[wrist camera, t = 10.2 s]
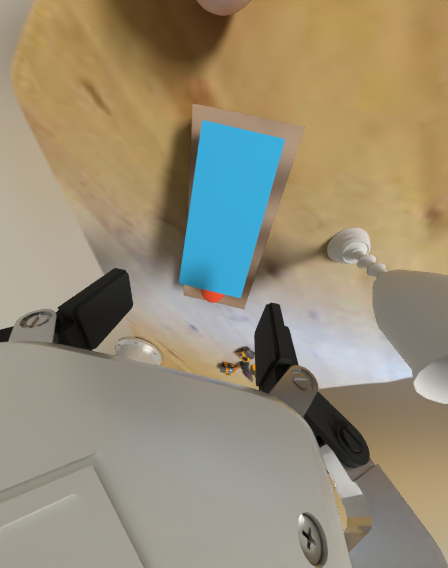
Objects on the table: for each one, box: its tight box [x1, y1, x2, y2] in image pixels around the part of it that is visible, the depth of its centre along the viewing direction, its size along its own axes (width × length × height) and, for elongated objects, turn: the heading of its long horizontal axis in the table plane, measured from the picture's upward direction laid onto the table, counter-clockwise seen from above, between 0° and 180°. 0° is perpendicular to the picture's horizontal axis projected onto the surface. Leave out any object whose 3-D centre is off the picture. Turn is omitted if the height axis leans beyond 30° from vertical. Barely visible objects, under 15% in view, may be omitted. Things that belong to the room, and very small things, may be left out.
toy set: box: [220, 346, 256, 382], centre depth 41 cm, size 12×11×5 cm
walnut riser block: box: [184, 104, 305, 309], centre depth 23 cm, size 22×10×4 cm, turn 170°
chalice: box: [327, 228, 448, 404], centre depth 16 cm, size 7×7×18 cm
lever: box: [179, 120, 285, 303], centre depth 20 cm, size 7×7×18 cm
